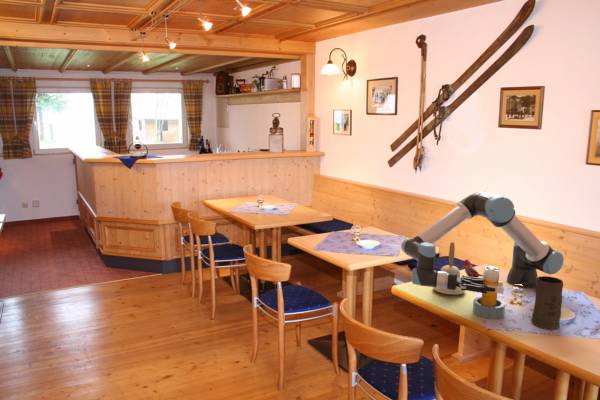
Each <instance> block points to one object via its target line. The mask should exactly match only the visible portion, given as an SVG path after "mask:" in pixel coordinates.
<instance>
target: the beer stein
mask: <svg viewBox="0 0 600 400" xmlns="http://www.w3.org/2000/svg"><path fill="white" fill-rule="evenodd" d="M536 283H537V284H536V287H535V291H534V292H535V294H534V295H535V301H534V306H533V307H534V308H533V311H532V314H531V319H530V322H531V324H533V325H534V326H535V327H537V328H540V329H544V330H557V329H559V328H560V326H561V325H560V321H561V317H562V316H561V315H562V303H563V289H564V281H563V279H561V278H557V277H555V276H549V275H548V276H547V275H542V276H538V278H537V281H536Z"/></svg>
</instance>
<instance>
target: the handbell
mask: <svg viewBox="0 0 600 400" xmlns="http://www.w3.org/2000/svg"><path fill="white" fill-rule="evenodd" d="M455 246H456V245H455V242H454V241H451V242H450V244H449V249H448V264H447V265H443V266H442V267H441V269H440V271H443V272H447V273H448V274H449V272H451V273H457V277H461V272H460V269H459V268H458V267H457V266H455V265H453V264H454V259H455ZM432 288H433V290H435V291H436V292H439V293H442V294H446V295H453V296H454V295H462V294H464V293H465V292H466V290H461V287H456V290H450V289H447V288H445V289H443V288H441V289H439V288H437V287H432Z"/></svg>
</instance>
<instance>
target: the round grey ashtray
mask: <svg viewBox="0 0 600 400" xmlns="http://www.w3.org/2000/svg"><path fill="white" fill-rule="evenodd" d="M481 299H482V296H479V297H474V299H473V303H472V312H473V313H474V314H475V315H476V316H477V317H480V318H485V319H488V320H489V319H490V320H498V319H502V318H503V317H504V316H505V308H506V303H504V301H502V300H500V299H498V298H497V300H496V305H495V306H494V307H489V306H485V305H483V304H482V302H481Z"/></svg>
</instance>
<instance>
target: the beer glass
mask: <svg viewBox="0 0 600 400" xmlns="http://www.w3.org/2000/svg"><path fill="white" fill-rule="evenodd" d="M486 270H494V271H497V272H498V274H499V275H500V269H499V267H495V266H485V267H484V269H483V274H482V275H483V276H482V278H484V273H485V271H486ZM498 282H500V281H498Z"/></svg>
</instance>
